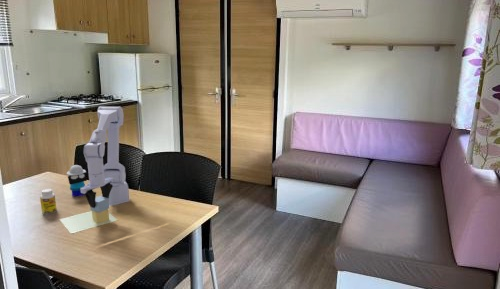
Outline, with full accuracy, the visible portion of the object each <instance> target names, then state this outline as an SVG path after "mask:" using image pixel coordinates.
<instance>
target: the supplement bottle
mask: <svg viewBox="0 0 500 289" xmlns="http://www.w3.org/2000/svg"><path fill="white" fill-rule="evenodd" d="M39 198H40V199H39V200H40V205H41V206H40V207H41V213H42V214H43V215H51V214H53V213H56V212H57V203H56V195H55V193H54V192H53V189H51V188H45V189H42V190H41V195H39Z"/></svg>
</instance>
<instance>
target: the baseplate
mask: <svg viewBox="0 0 500 289" xmlns="http://www.w3.org/2000/svg"><path fill="white" fill-rule="evenodd" d="M59 221H60V222H61V224H62V225H63V226H64V227H65V228H66V230H67V231H68V232H69V233H70V234H75V233H78V232H81V231H85V230H89V229H93V228H96V227H99V226H104V225H107V224H109V223H114V222H117V221H118V219H117V218H116V217H115V216H113V215H112V214H111V213H110V212H109V220H107V221H104V222H100V223H96V222H95V221H94V220H93V219H92V210H90V211H87V212H82V213H78V214H75V215H71V216H67V217H63V218H59Z"/></svg>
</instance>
